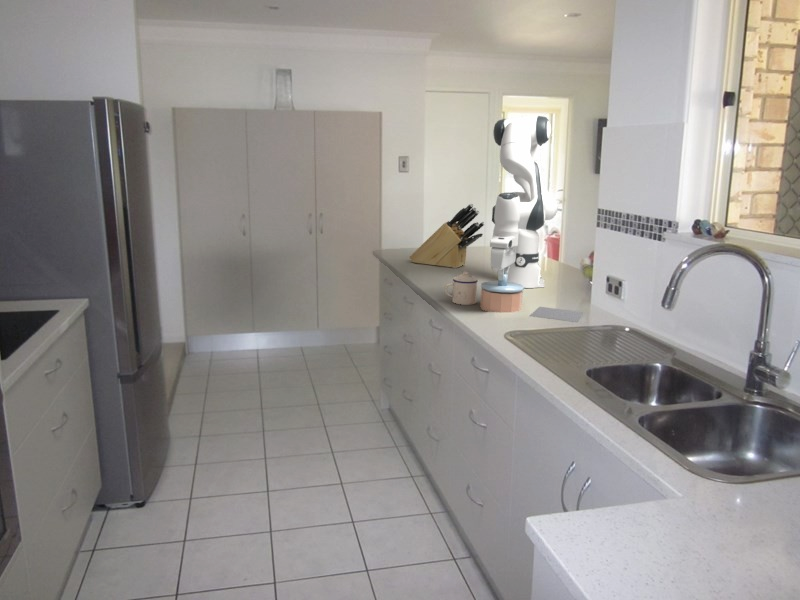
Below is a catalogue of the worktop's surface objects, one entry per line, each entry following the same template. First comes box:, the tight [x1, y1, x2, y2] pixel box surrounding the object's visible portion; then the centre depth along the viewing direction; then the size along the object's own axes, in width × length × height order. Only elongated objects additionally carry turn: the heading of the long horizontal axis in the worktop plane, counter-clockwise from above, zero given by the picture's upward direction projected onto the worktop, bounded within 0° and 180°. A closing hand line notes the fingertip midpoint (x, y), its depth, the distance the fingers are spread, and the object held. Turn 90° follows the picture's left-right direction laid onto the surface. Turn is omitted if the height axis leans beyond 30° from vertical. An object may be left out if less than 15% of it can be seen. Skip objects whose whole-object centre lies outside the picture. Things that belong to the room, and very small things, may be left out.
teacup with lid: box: [444, 270, 478, 306], centre depth 239 cm, size 12×9×12 cm
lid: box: [480, 274, 525, 293], centre depth 230 cm, size 15×15×5 cm
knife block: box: [409, 203, 486, 269], centre depth 316 cm, size 11×35×31 cm, turn 61°
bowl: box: [479, 288, 524, 313], centre depth 231 cm, size 14×14×7 cm
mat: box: [529, 306, 585, 323], centre depth 225 cm, size 16×16×1 cm
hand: (502, 278), depth 230 cm, fingers open, 3 cm apart
